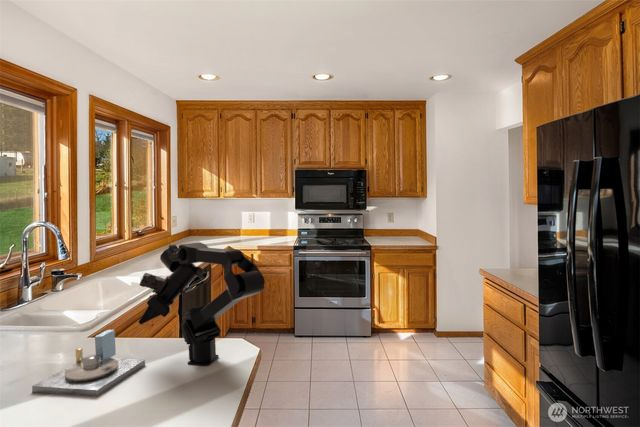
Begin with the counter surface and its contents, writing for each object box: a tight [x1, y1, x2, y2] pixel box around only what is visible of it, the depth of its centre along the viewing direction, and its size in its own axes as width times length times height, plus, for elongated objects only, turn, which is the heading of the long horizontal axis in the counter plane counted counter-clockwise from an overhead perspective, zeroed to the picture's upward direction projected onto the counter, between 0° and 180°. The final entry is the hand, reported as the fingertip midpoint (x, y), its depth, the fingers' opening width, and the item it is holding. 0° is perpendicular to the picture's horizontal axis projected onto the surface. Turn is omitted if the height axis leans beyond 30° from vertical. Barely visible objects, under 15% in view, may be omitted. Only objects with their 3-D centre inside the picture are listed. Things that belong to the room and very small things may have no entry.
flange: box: [65, 329, 118, 381], centre depth 105 cm, size 14×12×8 cm
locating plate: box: [31, 347, 146, 398], centre depth 103 cm, size 18×18×6 cm
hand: (139, 323), depth 113 cm, fingers closed
